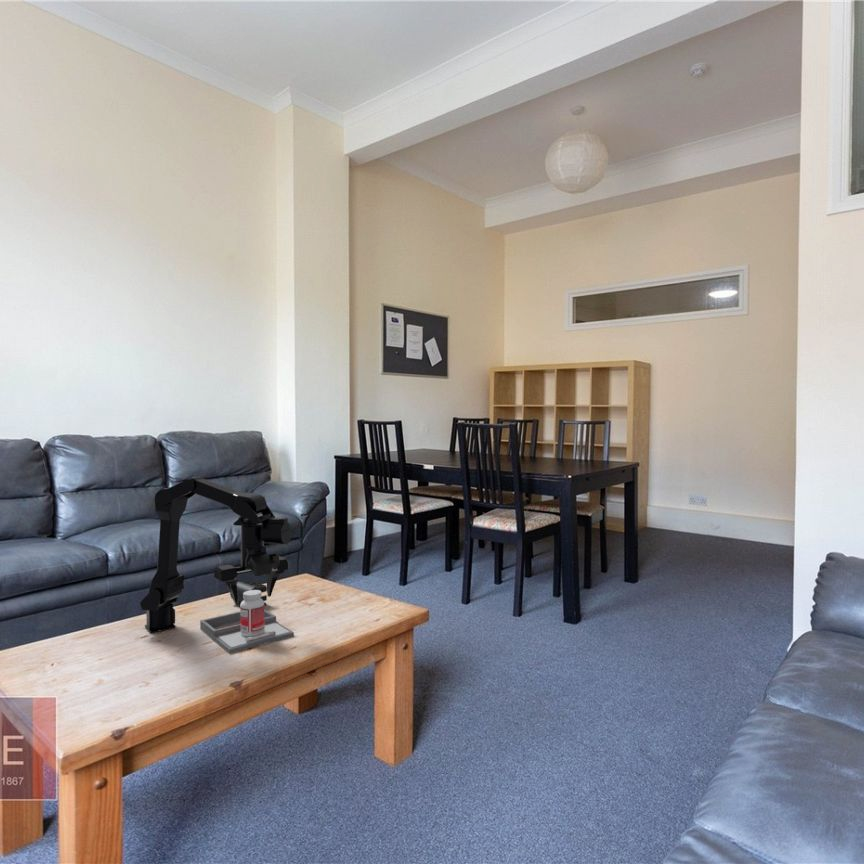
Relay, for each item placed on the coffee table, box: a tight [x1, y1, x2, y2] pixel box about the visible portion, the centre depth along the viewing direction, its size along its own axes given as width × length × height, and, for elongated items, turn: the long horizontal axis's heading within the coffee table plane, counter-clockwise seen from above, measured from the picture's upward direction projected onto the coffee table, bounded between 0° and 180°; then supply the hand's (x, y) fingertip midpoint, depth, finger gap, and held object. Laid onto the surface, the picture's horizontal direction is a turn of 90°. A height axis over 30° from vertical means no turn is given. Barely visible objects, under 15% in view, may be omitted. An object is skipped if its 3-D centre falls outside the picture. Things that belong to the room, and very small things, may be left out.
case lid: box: [213, 620, 295, 654], centre depth 151 cm, size 18×11×1 cm, turn 131°
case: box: [199, 608, 277, 641], centre depth 160 cm, size 18×11×3 cm, turn 131°
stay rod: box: [245, 631, 276, 642], centre depth 148 cm, size 8×1×1 cm, turn 131°
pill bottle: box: [239, 590, 265, 637], centre depth 152 cm, size 6×6×11 cm
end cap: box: [229, 580, 268, 606], centre depth 179 cm, size 10×7×7 cm
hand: (252, 599), depth 152 cm, fingers open, 9 cm apart
